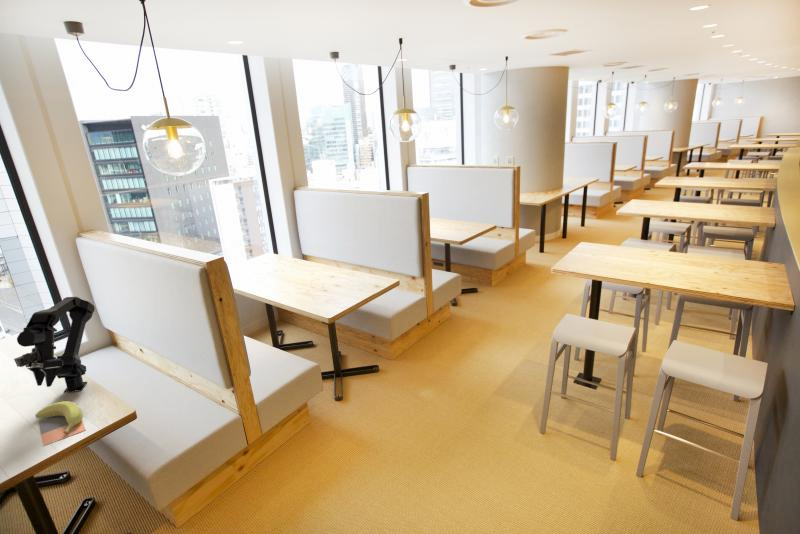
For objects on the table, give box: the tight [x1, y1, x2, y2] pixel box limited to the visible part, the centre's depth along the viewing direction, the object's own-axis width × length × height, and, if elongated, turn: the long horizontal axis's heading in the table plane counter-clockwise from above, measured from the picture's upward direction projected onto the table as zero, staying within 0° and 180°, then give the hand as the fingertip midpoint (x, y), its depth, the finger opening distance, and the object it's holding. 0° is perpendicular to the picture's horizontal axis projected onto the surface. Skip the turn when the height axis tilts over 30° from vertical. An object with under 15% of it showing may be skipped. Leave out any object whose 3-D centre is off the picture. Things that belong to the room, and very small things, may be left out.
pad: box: [40, 420, 86, 447], centre depth 156 cm, size 8×12×1 cm, turn 133°
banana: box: [35, 400, 84, 434], centre depth 160 cm, size 14×6×20 cm
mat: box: [38, 416, 69, 435], centre depth 162 cm, size 10×12×1 cm
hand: (44, 386), depth 164 cm, fingers open, 9 cm apart
